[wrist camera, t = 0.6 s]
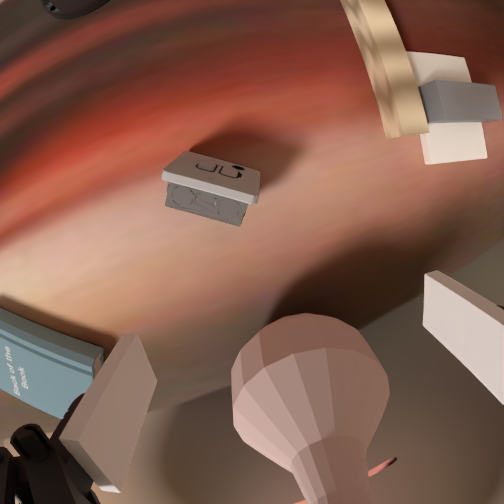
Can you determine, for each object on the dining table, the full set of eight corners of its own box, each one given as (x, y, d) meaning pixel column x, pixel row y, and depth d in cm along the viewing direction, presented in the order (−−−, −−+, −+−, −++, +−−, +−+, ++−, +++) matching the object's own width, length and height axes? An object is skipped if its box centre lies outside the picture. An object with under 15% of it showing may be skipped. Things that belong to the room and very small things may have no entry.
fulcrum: (399, 54, 32) (422, 39, 26) (458, 60, 32) (483, 49, 25) (425, 164, 36) (452, 164, 30) (481, 158, 36) (509, 158, 29)
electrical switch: (261, 171, 36) (265, 179, 27) (249, 211, 37) (248, 232, 29) (185, 150, 35) (165, 152, 26) (175, 191, 36) (152, 205, 28)
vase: (260, 274, 39) (302, 494, 10) (375, 313, 41) (503, 468, 12) (216, 379, 42) (200, 573, 13) (321, 405, 45) (373, 567, 15)
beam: (333, -13, 29) (343, -31, 25) (357, -13, 29) (369, -29, 25) (385, 139, 35) (403, 135, 31) (409, 136, 35) (429, 132, 30)
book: (10, 373, 43) (-3, 387, 38) (-2, 303, 39) (-19, 314, 34) (106, 415, 45) (97, 433, 40) (104, 344, 41) (91, 362, 36)
